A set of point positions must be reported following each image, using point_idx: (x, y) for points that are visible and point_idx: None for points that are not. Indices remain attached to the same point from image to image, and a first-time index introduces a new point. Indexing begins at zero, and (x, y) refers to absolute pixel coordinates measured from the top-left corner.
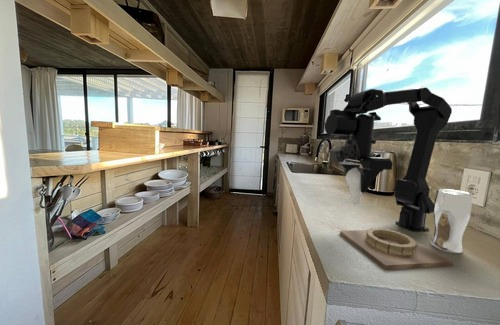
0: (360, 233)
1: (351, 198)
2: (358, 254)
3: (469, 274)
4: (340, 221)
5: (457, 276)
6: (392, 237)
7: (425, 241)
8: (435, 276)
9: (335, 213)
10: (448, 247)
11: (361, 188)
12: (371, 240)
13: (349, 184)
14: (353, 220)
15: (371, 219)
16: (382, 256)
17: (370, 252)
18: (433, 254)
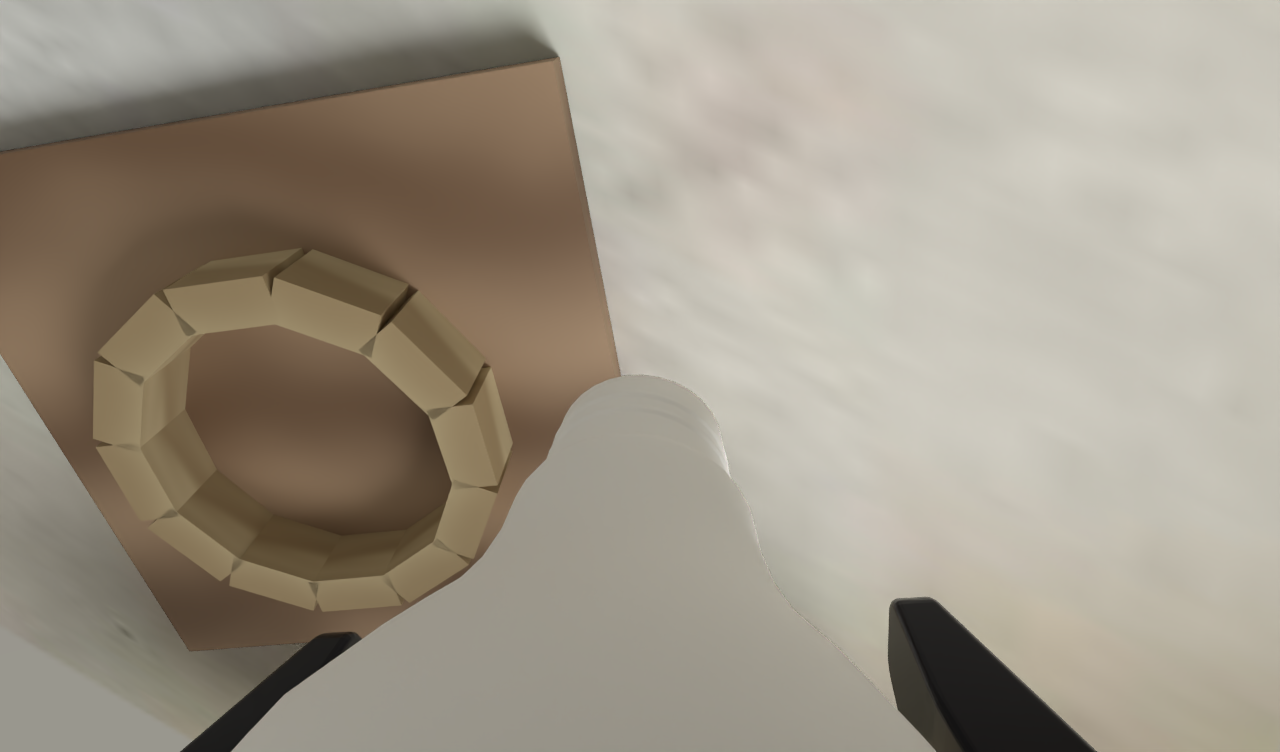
0: (517, 284)
1: (618, 412)
2: (108, 52)
3: (133, 637)
4: (962, 247)
5: (78, 569)
6: (438, 513)
7: None
8: (15, 457)
9: (1261, 306)
10: None
11: (260, 701)
12: (233, 268)
13: (511, 576)
14: (976, 417)
15: (980, 601)
16: (50, 234)
17: (78, 160)
18: (250, 610)
